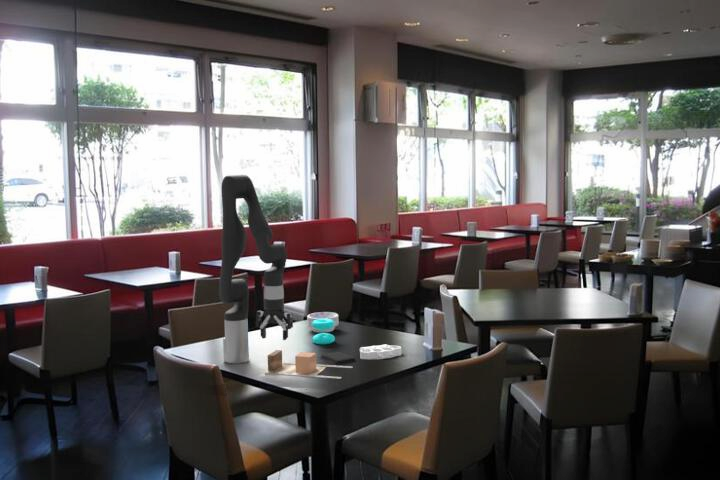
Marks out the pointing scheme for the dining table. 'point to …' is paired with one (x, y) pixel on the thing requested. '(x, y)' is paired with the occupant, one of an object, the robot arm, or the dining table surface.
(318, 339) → the donuts
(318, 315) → the clear glass round bowl
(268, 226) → the robot arm
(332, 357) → the carrying case or bag
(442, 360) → the dining table surface
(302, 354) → the block
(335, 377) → the rails
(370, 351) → the white brass knuckles
